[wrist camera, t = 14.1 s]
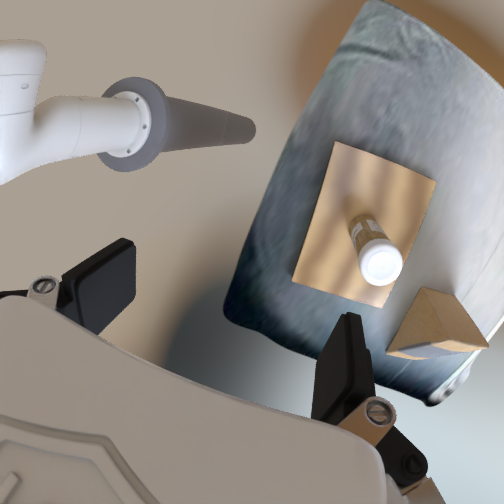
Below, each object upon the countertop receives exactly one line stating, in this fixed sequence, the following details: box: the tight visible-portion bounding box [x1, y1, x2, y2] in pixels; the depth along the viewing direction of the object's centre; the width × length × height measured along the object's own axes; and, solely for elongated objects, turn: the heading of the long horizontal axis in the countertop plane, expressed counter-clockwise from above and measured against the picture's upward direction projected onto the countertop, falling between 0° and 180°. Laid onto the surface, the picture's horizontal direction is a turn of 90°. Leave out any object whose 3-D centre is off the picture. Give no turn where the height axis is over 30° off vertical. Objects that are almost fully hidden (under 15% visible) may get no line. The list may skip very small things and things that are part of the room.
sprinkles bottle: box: [349, 214, 403, 286], centre depth 31 cm, size 5×5×14 cm
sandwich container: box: [386, 287, 489, 360], centre depth 35 cm, size 9×15×15 cm, turn 169°
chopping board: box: [291, 141, 436, 308], centre depth 38 cm, size 16×22×2 cm
